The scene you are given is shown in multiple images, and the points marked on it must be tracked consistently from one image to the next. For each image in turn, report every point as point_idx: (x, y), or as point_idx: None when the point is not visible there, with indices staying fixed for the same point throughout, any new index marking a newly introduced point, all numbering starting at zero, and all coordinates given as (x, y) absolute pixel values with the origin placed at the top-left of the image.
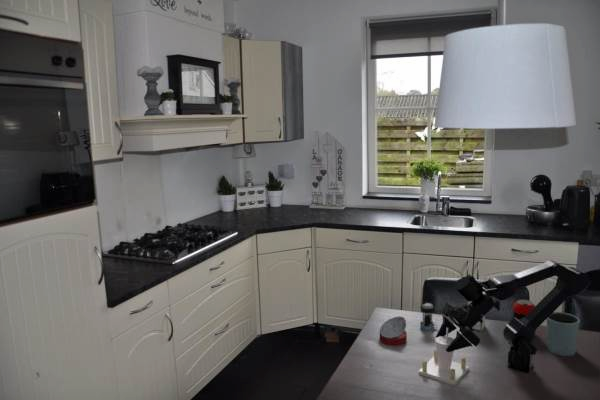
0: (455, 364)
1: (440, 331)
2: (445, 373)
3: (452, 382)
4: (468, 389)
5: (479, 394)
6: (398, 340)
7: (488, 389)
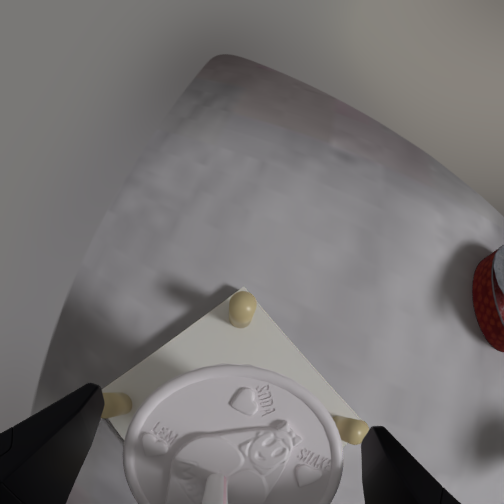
0: None
1: (397, 478)
2: None
3: (104, 388)
4: None
5: None
6: (488, 299)
7: None
